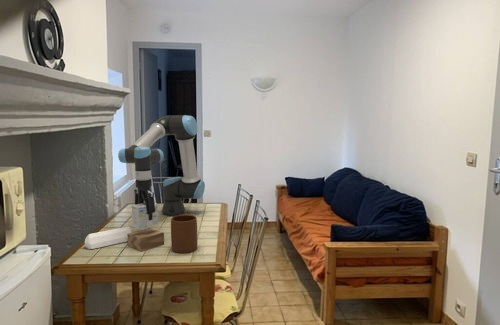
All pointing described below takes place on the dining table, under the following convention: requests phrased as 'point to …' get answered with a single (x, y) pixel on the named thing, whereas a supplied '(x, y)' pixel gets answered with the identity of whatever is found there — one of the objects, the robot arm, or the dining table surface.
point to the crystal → (107, 237)
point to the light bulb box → (143, 215)
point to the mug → (184, 233)
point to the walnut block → (145, 239)
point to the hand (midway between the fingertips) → (145, 224)
